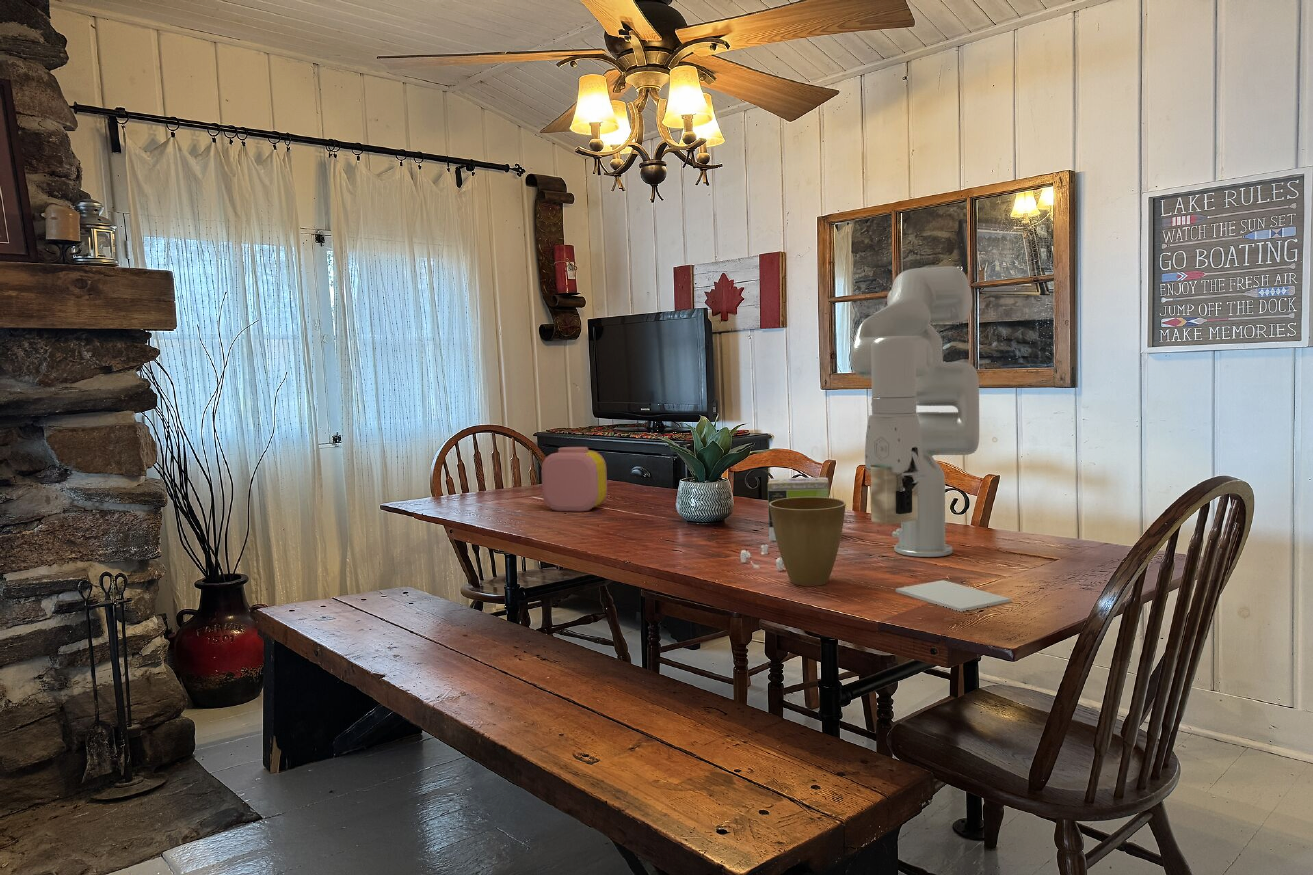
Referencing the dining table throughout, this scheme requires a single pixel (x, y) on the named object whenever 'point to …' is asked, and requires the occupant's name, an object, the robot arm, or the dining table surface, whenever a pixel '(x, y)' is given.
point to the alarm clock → (574, 479)
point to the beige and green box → (888, 497)
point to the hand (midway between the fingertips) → (894, 510)
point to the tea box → (794, 492)
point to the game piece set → (764, 551)
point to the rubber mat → (953, 595)
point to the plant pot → (808, 536)
